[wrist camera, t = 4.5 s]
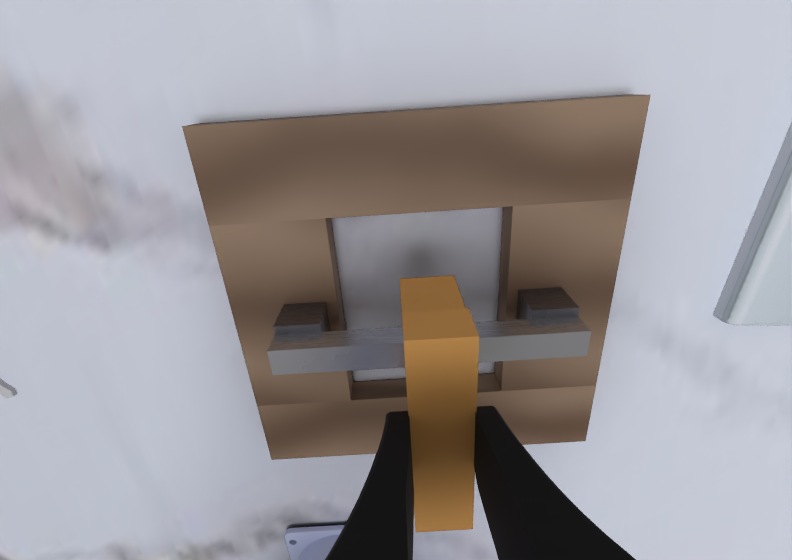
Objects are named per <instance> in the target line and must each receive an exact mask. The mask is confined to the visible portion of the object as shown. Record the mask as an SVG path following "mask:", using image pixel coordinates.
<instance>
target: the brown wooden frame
mask: <svg viewBox="0 0 792 560" xmlns="http://www.w3.org/2000/svg"><path fill="white" fill-rule="evenodd" d="M649 100H650V95H615V96H601V97H586V98H571V99H556V100H541V101H526V102H511V103H497V104H482V105H467V106H452V107H437V108H422V109H407V110H393V111H378V112H363V113H348V114H333V115H318V116H304V117H289V118H274V119H259V120H244V121H229V122H214V123H200V124H193V125H188V126H182V128H183V131H184V135H185V139H186V143H187V146H188V150H189V154H190V157H191V161H192V165H193V169H194V172H195V176H196V180H197V184H198V187H199V191H200V195H201V198H202V202H203V206H204V210H205V213H206V217H207V221H208V224H209V228H210V232H211V236H212V239H213V243H214V247H215V250H216V254H217V258H218V262H219V265H220V269H221V273H222V277H223V280H224V284H225V288H226V291H227V295H228V299H229V303H230V306H231V310H232V314H233V317H234V321H235V325H236V329H237V332H238V336H239V340H240V343H241V347H242V351H243V355H244V358H245V362H246V366H247V370H248V373H249V377H250V381H251V384H252V388H253V392H254V396H255V399H256V403H257V407H258V410H259V414H260V418H261V422H262V425H263V429H264V433H265V436H266V440H267V444H268V448H269V451H270V455H271V459H272V460H274V459H291V458H308V457H324V456H341V455H358V454H375V453H377V451H378V447H379V444H380V441H381V438H382V434H383V430H384V425H385V419H386V414H388V413H389V412H395V411H408V402H407V386H406V379H393V380H377V381H360V382H353V378H352V371H351V370H349V371H333V372H317V373H300V374H284V375H273V374H272V370H271V366H270V361H269V357H268V353H267V350H268V348H269V346H270V344H271V342H272V340H273V337H274V335H275V334H274V330H273V326H274V324H275V321H276V319H277V317H278V315H279V313H280V311H281V309H282V307H283V305H284V304H297V303H313V302H326V303H327V310H328V316H329V323H330V329H331V331H345V330H346V326H345V318H344V311H343V303H342V296H341V288H340V281H339V273H338V266H337V258H336V251H335V244H334V236H333V229H332V221H331V218H339V217H355V216H370V215H385V214H401V213H416V212H432V211H447V210H462V209H478V208H493V207H503V221H502V240H501V259H500V278H499V297H498V316H497V321H505V320H516V314H517V301H518V290H519V289H535V288H551V287H562V288H563V289H564V291H565V292H566V293H567V294H568V295H569V296H570V297H571V298H572V300H573V301H574V302H575V303H576V304H577V305H578V306H579V307H580V309H579V317H580V318H581V320H582V321H583V322H584V323H585V324H586V325H587V327H588V328H589V329H590V330H591V336H590V342H589V348H588V354H587V356H577V357H561V358H545V359H528V360H512V361H496V362H495V373H491V374H478V386H477V407H478V406H494V407H495V408H496V409H497V410H498V412H499V413H500V415H501V416H502V418H503V419H504V421H505V422H506V424H507V425H508V427H509V428H510V429H511V431H512V432H513V433H514V435H515V436H516V438H517V439H518V440H519V442H520V443H521V444H522V445H526V444H543V443H560V442H576V441H585V440H586V435H587V430H588V424H589V419H590V414H591V408H592V403H593V398H594V392H595V387H596V382H597V377H598V371H599V366H600V361H601V355H602V350H603V345H604V339H605V334H606V329H607V323H608V318H609V313H610V307H611V302H612V297H613V291H614V286H615V281H616V276H617V270H618V265H619V260H620V254H621V249H622V244H623V238H624V233H625V228H626V222H627V217H628V212H629V206H630V201H631V196H632V190H633V185H634V180H635V174H636V169H637V164H638V159H639V153H640V148H641V143H642V137H643V132H644V127H645V121H646V116H647V111H648V105H649Z"/></svg>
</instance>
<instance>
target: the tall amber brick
mask: <svg viewBox="0 0 792 560" xmlns="http://www.w3.org/2000/svg"><path fill="white" fill-rule="evenodd" d="M400 290H401V306H402V322H403V338H404V354H405V370H406V386H407V402H408V416H409V418H410V434H411V450H412V466H413V482H414V514H415V530H416V532H428V531H446V530H464V529H473V508H474V478H475V469H474V444H475V412H477V386H478V356H479V335H478V332H477V329H476V326H475V324H474V321H473V318H472V316H471V313H470V310H469V308H467V309H466V308H465V305H464V302H463V300H462V297H461V294H460V291H459V288H458V285H457V283H456V280H455V277H454V275H452V276H436V277H420V278H404V279H400Z"/></svg>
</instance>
